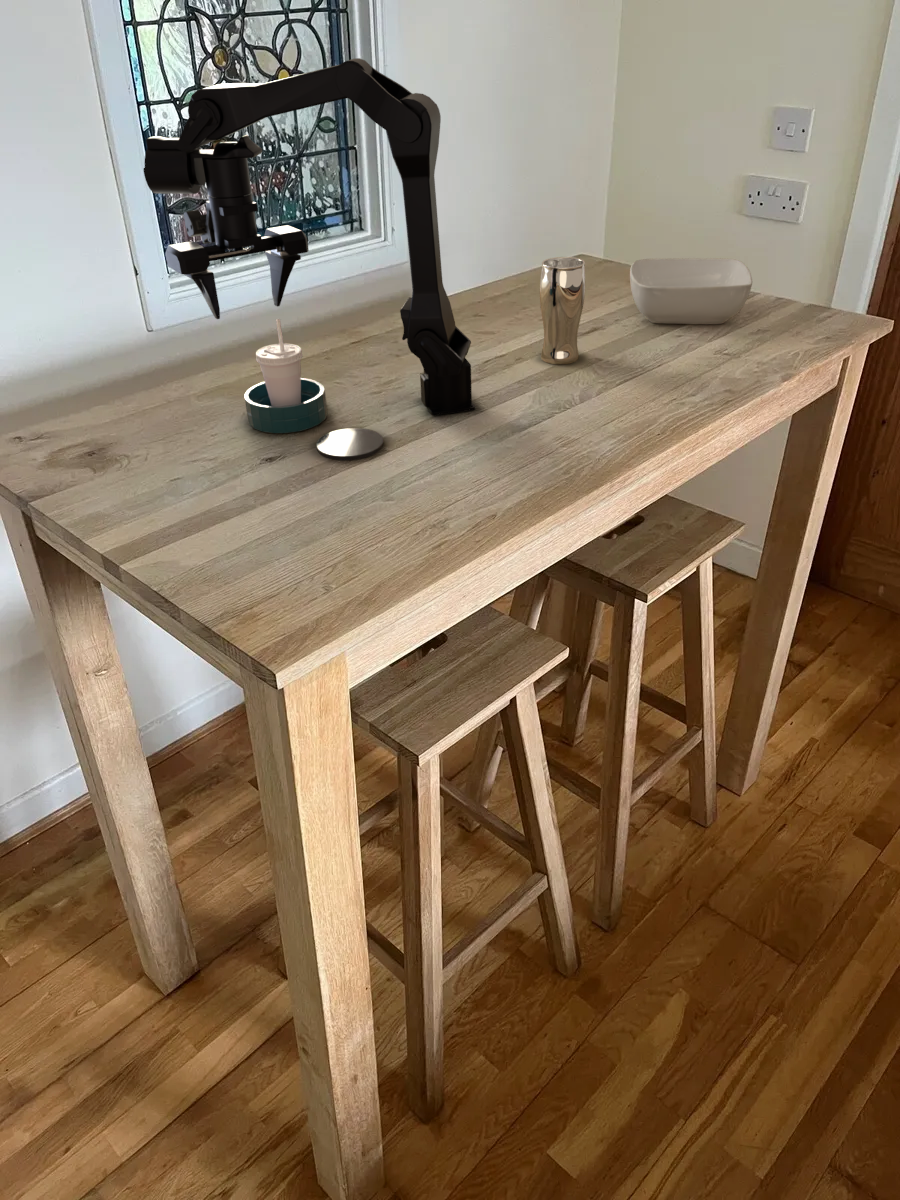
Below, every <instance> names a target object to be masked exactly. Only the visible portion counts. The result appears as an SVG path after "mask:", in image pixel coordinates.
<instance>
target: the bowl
mask: <svg viewBox="0 0 900 1200" xmlns="http://www.w3.org/2000/svg"><path fill="white" fill-rule="evenodd" d="M629 282H630V290H631V296H632V298H633V301H634V304H635V306H636V308H637V310H638V311H639V313H640V314H641V315H642V316H643V317H645V319H646V320H648V321H649V322H650V323H653V324H670V325H671V324H673V325H674V324H675V325H677V324H679V325H721V324H725V323H726V322H727V321H728V320H730V319H732V318H733V317H734V316H736V315H737V314H738V313H739V312H740V311H741V309H743V308H744V305H746V302H747V300H748V298H749V295H750V294H751V293H750V292H751V289H752V286H753V277H752V273H751V271H750V268H749V267H748V266H747V265H746V264H745V262H743V261H741V260H740V259H736V258H721V257H720V258H716V257H673V258H672V257H667V258H666V257H663V258H661V257H656V258H641V259H638V260H635V261H633V262H632V263H631V265H630V269H629Z"/></svg>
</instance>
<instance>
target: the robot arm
mask: <svg viewBox="0 0 900 1200" xmlns="http://www.w3.org/2000/svg"><path fill="white" fill-rule="evenodd" d="M345 99H349V100H350V101H351V102H353V103H354V104H355V105H356V106H357V107H358V108H359V109H360V110H361V111H362V112H363V113H364V114H365V115H366V116H367V117H368V118H369V119H370V120H371V121H373V123H375V124H377V125H378V126H379V127H380V128H382V129H383V130H385V134H386V137H387V141H388V145H389V148H390V152H391V157H392V159H393V161H394V164H395V166H396V169H397V171H398V173H399V176H400V179H401V184H402V195H403V203H404V204H403V205H404V206H403V207H404V217H405V226H406V236H407V237H406V238H407V245H408V246H407V247H408V256H409V257H408V258H409V267H410V268H409V269H410V278H411V279H410V280H411V288H412V289H411V291H412V294H411V296H409V297H407V299H406V300H405V302H404V304H403V305H402V307H401V308H400V309H399V313H400V319H401V322H402V326H403V335H402V337H401V340H402V341H405V340H406V343H407V347H408V350H409V351H410V353H411V354H413V355H414V356H416V357H417V358H418V359H419V362H420V364H421V366H422V368H423V373H421V374H420V375H419V376H420V377H419V381H420V398H421V402H422V404H423V405H424V407H425V408H427V410H428V412H429V413H430V415H431V416H440V415H447V414H454V413H461V412H462V413H463V412H471V411H475V410H476V405H475V404H474V402H473V399H472V398H473V397H472V365H471V362H469V360H468V359H467V358H466V357H467V356H468V353H469V350H470V347H471V345H472V341H471V339H470V338H469V337H467V335H466V334H464V332H463V331H461V330H460V329H459V327H457V325H456V321H455V318H454V312H453V309H452V305H451V302H450V299H449V297H448V294H447V292H446V289H445V287H444V283H443V273H442V257H441V246H440V232H439V218H438V206H437V205H438V204H437V193H436V192H437V191H436V181H435V180H436V179H435V172H436V165H437V158H438V152H439V147H440V146H439V145H440V133H441V118H442V117H441V112H440V108H439V106H438V104H437V103H436V102H435V101H434V100H433V99H432V98H431V97H430V96H428V95H426V94H424V93H418V92H414V93H412V91H410V90H409V89H407V87H405V86H403V85H401V84H400V83H398V82H397V81H395V80H393V79H392V78H390V77H388V76H387V75H385V74H384V73H381V72H380V71H378V70H377V69H376V68H375V67H373V66H372V65H370V64H369V63H368V61H366V60H365V59H362V58H360V57H358V58H355V57H354V58H351V59H349V60H345V61H343V62H342V63H340V64H337V65H332V66H329V67H325V68H321V69H317V70H312V71H308V72H303V73H300V74H296V75H292V76H288V77H284V78H279V79H276V80H273V81H268V82H260V83H250V82H232V83H217V84H214V85H210V86H207V87H204V88H200V89H198V90H196V91H194V92H193V93H192V94H191V95H190V99H189V102H188V105H187V114H188V118H187V121H186V123H185V125H184V127H183V129H182V131H181V133H180V136H179V137H165V136H159V135H156V136H155V135H154V136H150V137H148V138H146V139H145V143H146V151H145V155H144V167H143V176H144V179H145V182H146V184H147V185H146V186H147V187H148V188H149V190H150V191H151V192H152V193H153V194H162V195H165V194H167V195H168V194H171V195H172V194H173V195H196V194H198V193H199V192H200V190H201V187H203V186H204V185H206V192H207V197H208V200H206V201H205V209H206V213H205V214H202V213H201V211H200V209H192V210H186V211H184V212H183V219H184V225H185V229H186V233H187V235H188V237H189V238H194V237H200V238H201V241H202V244H211V243H215V244H213V245H208V246H207V245H206V246H203V245H202V244H201V245H200V244H199V243H197V242H195V241H193V240H191V241H185V242H179V243H174V244H168V245H167V248H166V249H165V259H166V265H167V267H168V268H170V269H172V270H173V271H174V272H176V273H178V274H180V275H184V276H186V277H187V278H189V279H190V280H192V281H193V282H194V283H195V285H196V286H197V288H198V290H199V291H200V293H201V295H202V297H203V299H204V300H205V302H206V304H207V306H208V308H209V310H210V311H211V313H212V316H213V317H214V319H215V320H220V319H221V309H220V303H219V297H218V292H217V286H216V285H217V284H216V280H215V274H214V272H213V271H212V270H209V269H208V268H209V266H210V265H211V262H213V261H220V260H225V259H230V258H236V257H241V256H246V255H252V254H258V253H263V252H264V253H265V256H266V260H267V262H268V264H269V272H270V273H269V274H270V283H271V286H270V287H271V295H272V301H273V305H274V306H275V307H277V308H278V307H280V306H281V303H282V300H283V297H284V294H285V293H284V292H285V290H286V287H287V284H288V281H289V279H290V275H291V273H292V271H293V268H294V266H295V264H296V262H297V261H300V260H302V256H301V255H300V254H306V253H308V252H309V251H310V250H309V242H308V237H307V235H306V233H305V232H304V231H303V230H302V229H298V228H296V227H294V226H291V225H288V224H286V225H281V226H280V225H279V226H274V227H269V228H265V232H264V236H262V235H261V234H259V233H258V228H257V222H256V221H257V220H256V215H255V212H259V209H258V203H257V202H256V201H254V200H253V192H252V185H251V184H252V183H251V179H250V178H251V177H250V170H249V162H248V159H253V158H255V157H257V156H259V155H261V154H262V153H263V148H262V147H260V145H258V144H257V143H256V142H254V141H253V140H252V139H251V137H250V136H249V135H248V134H245V135H242V136H240V137H239V139H238V141H218V140H222V139H223V138H225V137H228V136H230V135H233V134H235V133H237V132H239V131H241V130H244V129H246V128H248V127H250V126H252V125H254V124H256V123H258V122H260V121H262V120H264V119H266V118H270V117H273V116H279V115H282V114H286V113H290V112H294V111H299V110H303V109H307V108H311V107H315V106H320V105H324V104H328V103H329V104H330V103H332V102H337V101H340V100H345ZM215 141H218V142H217V143H215V145H214V148H213V149H201V147H202V146H205V145H208V144H210V143H212V142H215ZM226 250H227V251H226Z"/></svg>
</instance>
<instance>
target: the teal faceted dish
mask: <svg viewBox="0 0 900 1200" xmlns="http://www.w3.org/2000/svg"><path fill="white" fill-rule="evenodd" d="M243 397H244V403H245V408H246V415H247V421H248V424H249V426H250V427H252V428H253V429H254V430H256V431H259V432H265V433H271V434H289V433H295V432H296V433H297V432H302V431H305V430H308V429H312V428H313V427H316V426H318V425H320V424H321V423H323V422H324V421H325V420H326V418H327V416H328V406H327V397H326V390H325V386H324V385H323V383H321V382H319V381H318V380H314V379H311V378H307V377H306V378H305V377H301V403H298V404H295V405H287V406H272V405H271V402H270V398H269V395H268V391H267V388H266V384H265V381H261V382H259V383H257V384H253V385H252V386H251V387H250V388H248V389H246V391H245V392H244V395H243Z"/></svg>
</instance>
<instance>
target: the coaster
mask: <svg viewBox="0 0 900 1200" xmlns="http://www.w3.org/2000/svg"><path fill="white" fill-rule="evenodd" d="M384 444H385V443H384V437H383V436H382V434H380V433H379V432H378V431H375V430H372V429H368V428H362V427H348V428H340V429H336V430H332V431H330V432H327V433H325V434H323V435H322V436H321V437H319V438H318V439H317V441H316V443H315V446H316V451H317V453H318V454H319V455H321V456H322V457H324V458H326V459H330V460H335V461H356V460H361V459H366V458H368V457H371V456H373V455H376V454H377V453H379V452H380V451H382V449H383V447H384Z"/></svg>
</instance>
